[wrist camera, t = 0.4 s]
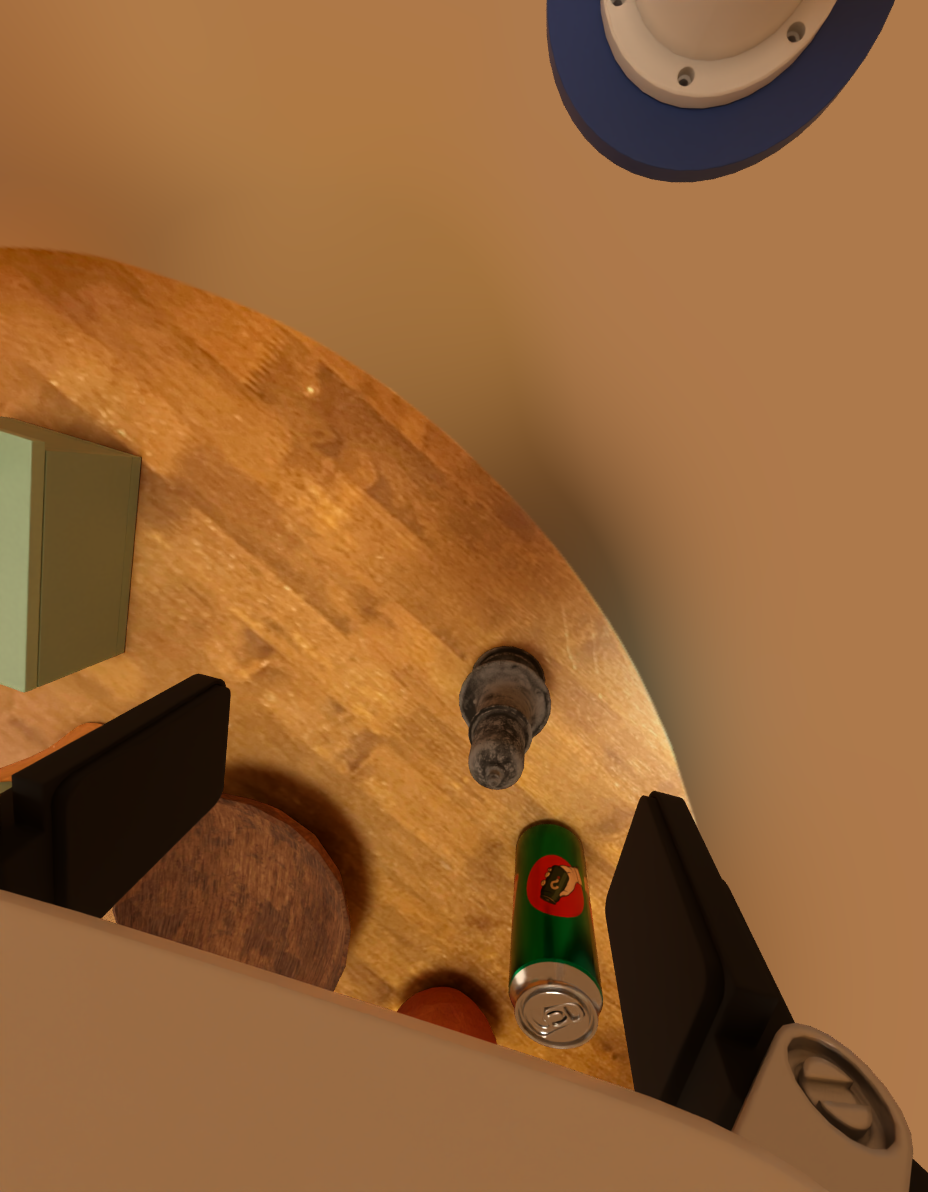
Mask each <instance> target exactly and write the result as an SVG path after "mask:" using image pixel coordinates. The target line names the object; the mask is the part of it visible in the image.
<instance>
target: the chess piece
mask: <svg viewBox="0 0 928 1192" xmlns="http://www.w3.org/2000/svg"><path fill="white" fill-rule="evenodd" d="M459 706H460V710H461V714H462V717H463V719H464V720H465V722H466V724H467V725H468V727H469V735H468V736H469V740H470V743H471V749H470V754H469V769H470V773H471V774H472V776H473V778H474V779H475V780H476V781H477V782H478V783H479V784H481V785H482V786H484V787H486V788H489V789H495V790H499V789H505V788H508V787H510V786H512V785H513V784H514V783H516V782H517V781H518V779H519V778H520V776H521V774H522V771H523V769H524V754H525V753H526V752H527V750H528V749H529V747H530V744H531V742H532V738H533V737H534V736H536V735H537V734H538V733H540V731H541V730H542V729H543V727H544V726H545V725H546V723H547V721H548V718H549V715H550V710H551V699H550V695H549V690H548V688H547V686H546V685H545V677H544V672H543V669H542V668H541V666H540V664H539V662H538V661H537V660H536V659H535V658H534V657H533V656H532V655H531V654H529V653H528V652H526V651H524V650H522V649H519V648H516V647H509V646H502V647H497V648H493V649H491V650H489V651H487V652H485V653H484V654H483V655H482V656H481V657H480V658H479V659H478V660H477V662H476V663H475V665H474V667H473V670H472V672H471V673H470V674H469V675H468V677H467V678H466V680H465V681H464V683H463V685H462V688H461V691H460V694H459Z"/></svg>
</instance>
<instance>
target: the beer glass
mask: <svg viewBox="0 0 928 1192" xmlns="http://www.w3.org/2000/svg"><path fill="white" fill-rule="evenodd" d="M102 725H103V724H99V723H85V724H82V725H79V726H78V727H76V728H74V729H73V730H72V731H70V732H69V733H68V734H67V735H65V736H64V737H63V738H62V739H60V740H59V741H58V742H56V743H55V744H53V745H52V746H50V747H49V748H47V749H45V750H43V751H41V752H39V753H37V754H35V755H33V756H31V757H28V758H26V759H23V760H21V761H18V762H15V763H13V764H10V765H7V766H4V767H2V768H0V794H1V793H2V792H4V791H6V790H7V789H9V788H11V787H12V777H11V775H13V774H15V773H16V772H18V771H20V770H22V769H24V768H25V767H27V766H29V765H31V764H33V763H35V762H36V761H38V760H40V759H42V758H44V757H45V756H47V755H49V754H51V753H53V752H55V751H56V750H58V749H60V748H62V747H64V746H65V745H67V744H69V743H71V742H73V741H75V740H76V739H78V738H80V737H82V736H84V735H85V734H87V733H89V732H91V731H93V730H95V729H96V728H98V727H100V726H102Z"/></svg>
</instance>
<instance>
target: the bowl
mask: <svg viewBox="0 0 928 1192" xmlns="http://www.w3.org/2000/svg"><path fill="white" fill-rule="evenodd" d="M113 914H114V917H115V920H116V923H117V924H119V925H123V926H126V927H129V928H132V929H135V930H139V931H142V932H145V933H148V934H152V935H155V936H158V937H161V938H164V939H168V940H171V941H174V942H177V943H181V944H184V945H187V946H190V947H193V948H197V949H200V950H203V951H206V952H210V953H213V954H216V955H219V956H222V957H225V958H229V959H232V960H235V961H238V962H241V963H244V964H248V965H251V966H254V967H257V968H260V969H263V970H266V971H270V972H273V973H276V974H279V975H282V976H285V977H289V978H292V979H295V980H298V981H301V982H304V983H307V984H311V985H314V986H317V987H320V988H323V989H326V990H329V991H333V992H334V990H335V987H336V985H337V983H338V981H339V979H340V977H341V975H342V973H343V971H344V969H345V966H346V959H347V952H348V945H349V939H350V932H351V926H350V915H349V911H348V906H347V902H346V897H345V892H344V888H343V883H342V879H341V874H340V871H339V870H338V868H337V867H336V865H335V864H334V862H333V861H332V859H331V858H330V856H329V855H328V853H327V852H326V850H325V849H324V848H323V846H322V845H321V843H320V842H319V840H318V839H317V837H316V836H315V835H314V834H313V833H312V832H310V831H309V830H307V829H306V828H305V827H303V826H302V825H301V824H299V823H298V822H296V821H295V820H294V819H292V818H291V817H290V816H288V815H287V814H285V813H284V812H283V811H281V810H279V809H277V808H275V807H273V806H270V805H267V804H264V803H262V802H259V801H256V800H253V799H249V798H244V797H239V796H235V795H230V794H225V793H222V795H221V797H220V799H219V800H218V802H217V803H216V805H215V806H214V807H213V808H212V809H211V810H210V811H209V812H208V813H207V814H206V815H205V816H204V817H203V818H202V819H201V820H200V821H199V822H198V823H197V824H196V825H195V826H194V827H193V828H192V829H191V830H190V831H189V832H188V833H187V834H186V835H185V836H184V837H183V838H182V839H181V840H180V841H179V842H178V843H176V844H175V845H174V846H173V847H172V848H171V849H170V850H169V851H168V852H167V853H166V854H165V855H164V856H163V857H162V858H161V859H160V860H159V861H158V862H157V863H156V864H155V865H154V866H153V867H152V868H151V869H150V870H149V871H148V872H147V873H146V874H145V875H144V876H143V877H142V878H141V879H140V880H139V881H138V882H137V883H136V884H135V885H134V886H133V887H132V888H131V889H130V890H129V891H128V892H127V893H126V894H125V895H124V896H123V897H122V898H121V899H120V900H119V901H118V902H117V903H116V904H115V905H114V906H113Z"/></svg>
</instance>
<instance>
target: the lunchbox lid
mask: <svg viewBox="0 0 928 1192" xmlns="http://www.w3.org/2000/svg"><path fill="white" fill-rule="evenodd" d="M44 463H45V442H44V441H41V440H38V439H35V438H31V437H28V436H25V435H21V434H18V433H15V432H12V431H8V430H5V429H2V428H0V684H2V685H4V686H7V687H10V688H13V689H16V690H19V691H21V692H27V691H30V690H32V689H35V688H36V687H37V664H38V635H39V607H40V578H41V549H42V521H43V492H44Z"/></svg>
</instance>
